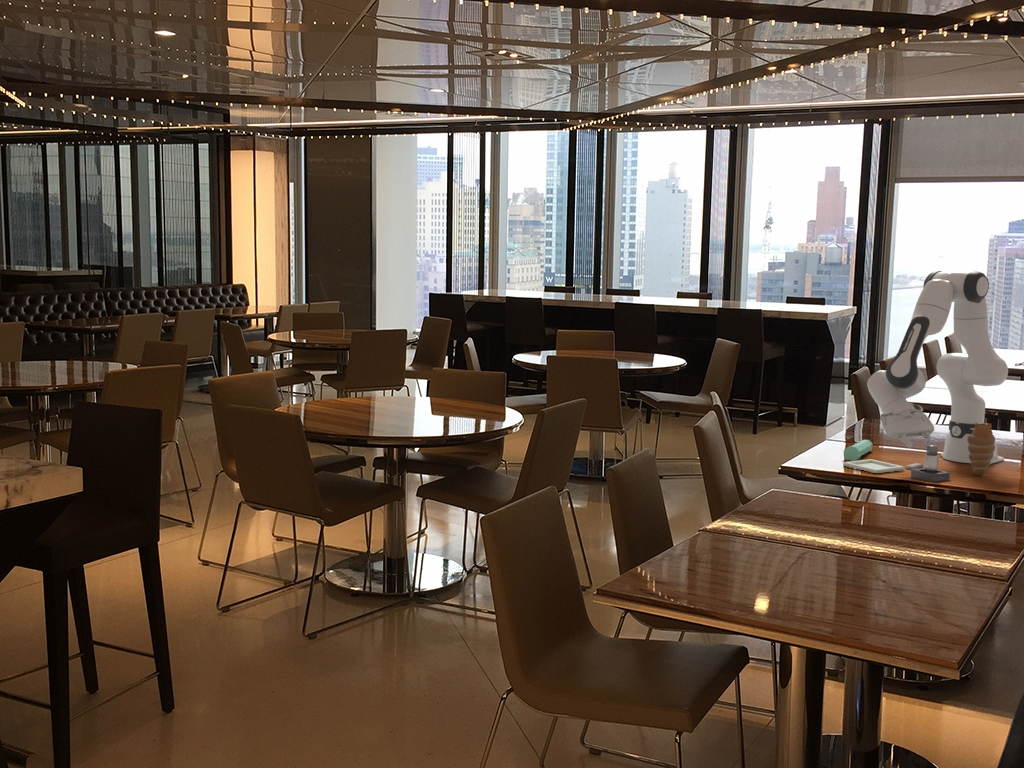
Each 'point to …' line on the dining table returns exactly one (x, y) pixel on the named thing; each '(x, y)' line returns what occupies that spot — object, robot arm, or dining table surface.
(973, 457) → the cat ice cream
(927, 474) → the socket collar
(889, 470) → the tray
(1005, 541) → the dining table surface
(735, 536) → the dining table surface
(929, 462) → the grey capped bottle
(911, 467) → the drift key
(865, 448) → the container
